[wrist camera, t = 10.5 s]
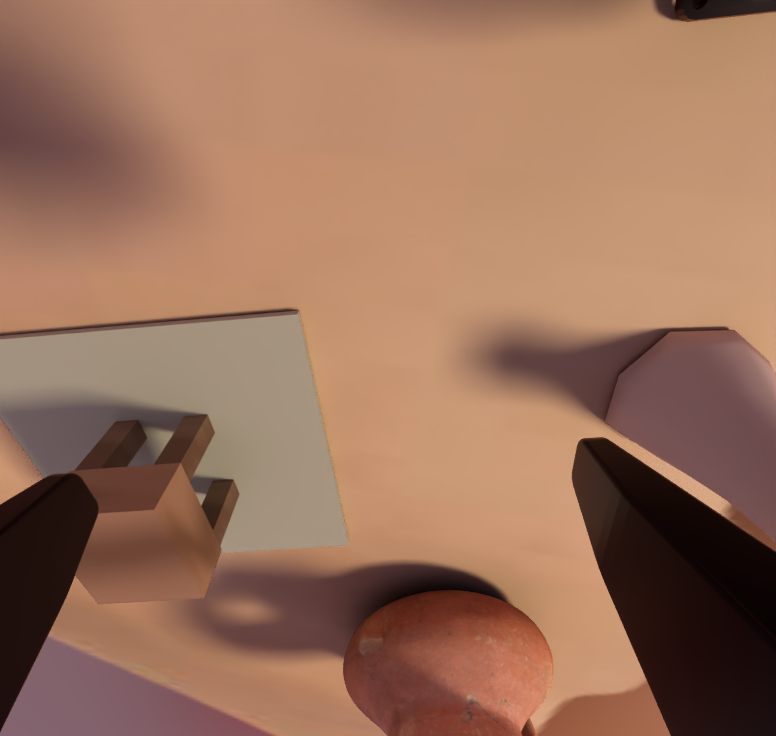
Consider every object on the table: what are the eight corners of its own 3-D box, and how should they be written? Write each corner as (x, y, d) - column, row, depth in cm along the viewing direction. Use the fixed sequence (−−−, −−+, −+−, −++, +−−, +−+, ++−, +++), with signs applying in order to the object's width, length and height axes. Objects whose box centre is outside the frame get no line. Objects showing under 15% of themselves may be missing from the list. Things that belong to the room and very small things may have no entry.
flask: (577, 427, 23) (691, 623, 14) (661, 306, 19) (881, 472, 11) (694, 456, 24) (863, 654, 15) (794, 347, 20) (1089, 527, 12)
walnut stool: (241, 495, 25) (204, 598, 20) (157, 501, 25) (98, 604, 20) (209, 412, 22) (154, 509, 16) (112, 420, 22) (28, 517, 17)
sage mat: (298, 310, 19) (297, 314, 19) (348, 539, 28) (348, 545, 27) (-46, 339, 20) (-53, 343, 19) (106, 554, 28) (102, 560, 28)
